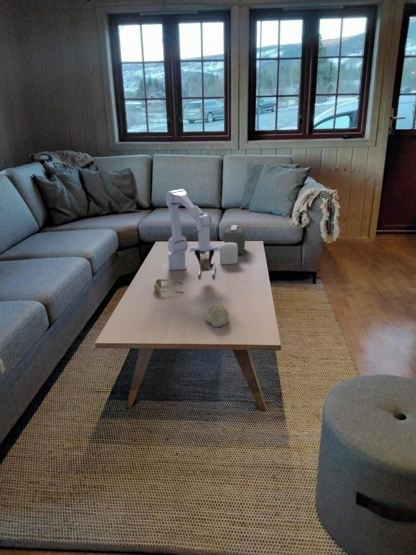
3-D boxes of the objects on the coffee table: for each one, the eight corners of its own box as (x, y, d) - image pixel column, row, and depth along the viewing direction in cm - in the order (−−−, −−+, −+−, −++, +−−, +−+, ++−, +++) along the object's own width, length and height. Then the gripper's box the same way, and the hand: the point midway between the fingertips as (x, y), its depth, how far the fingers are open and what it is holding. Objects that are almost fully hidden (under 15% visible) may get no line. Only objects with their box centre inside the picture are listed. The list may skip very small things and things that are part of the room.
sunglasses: (154, 285, 214) (154, 276, 212) (183, 286, 215) (184, 278, 214) (153, 296, 201) (154, 287, 199) (184, 298, 202) (185, 289, 201)
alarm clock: (227, 247, 264) (226, 223, 258) (245, 247, 263) (245, 223, 256) (224, 255, 249) (224, 231, 243) (243, 256, 248) (243, 231, 242)
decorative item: (238, 314, 172) (220, 311, 166) (230, 332, 174) (211, 330, 169) (224, 300, 181) (206, 297, 175) (216, 317, 184) (198, 314, 178)
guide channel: (198, 278, 219) (198, 274, 219) (200, 266, 234) (199, 263, 233) (214, 277, 219) (214, 274, 218) (215, 266, 234) (215, 263, 233)
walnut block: (200, 271, 208) (199, 260, 206) (201, 265, 216) (200, 254, 213) (209, 271, 208) (208, 259, 206) (209, 265, 215) (209, 254, 213)
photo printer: (236, 261, 240) (236, 240, 235) (238, 263, 236) (238, 243, 232) (219, 262, 239) (218, 242, 234) (220, 265, 235) (220, 244, 230)
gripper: (188, 241, 203) (190, 267, 209) (218, 240, 202) (219, 266, 208) (190, 237, 210) (191, 262, 215) (218, 236, 209) (219, 261, 214)
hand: (205, 264), depth 212 cm, fingers closed on walnut block, 4 cm apart
